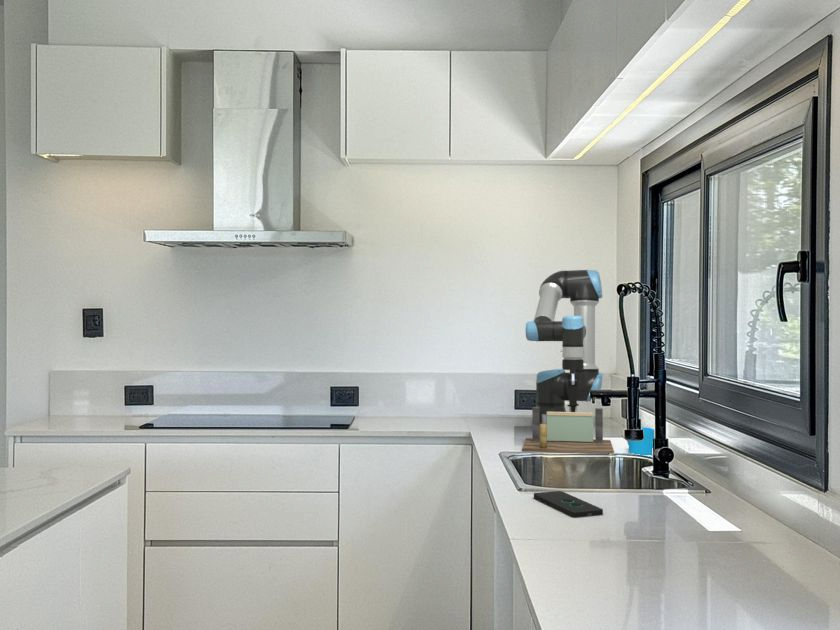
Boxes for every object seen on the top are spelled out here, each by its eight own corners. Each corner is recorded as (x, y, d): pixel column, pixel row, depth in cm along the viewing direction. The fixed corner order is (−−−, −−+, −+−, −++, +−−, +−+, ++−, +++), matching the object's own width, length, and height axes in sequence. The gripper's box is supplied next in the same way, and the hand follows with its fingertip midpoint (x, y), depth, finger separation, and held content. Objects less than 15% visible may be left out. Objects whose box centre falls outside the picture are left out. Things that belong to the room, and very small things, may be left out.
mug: (659, 455, 245) (659, 430, 245) (638, 456, 242) (638, 431, 242) (637, 449, 256) (637, 425, 256) (617, 450, 254) (617, 426, 254)
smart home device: (572, 512, 169) (531, 492, 188) (572, 519, 169) (531, 499, 188) (604, 509, 171) (561, 490, 190) (604, 516, 171) (561, 497, 190)
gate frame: (525, 440, 275) (525, 404, 275) (610, 442, 269) (610, 406, 269) (522, 451, 252) (521, 412, 252) (614, 454, 246) (613, 414, 247)
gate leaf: (541, 439, 267) (541, 411, 267) (593, 440, 264) (592, 412, 264) (541, 440, 265) (541, 412, 265) (593, 441, 262) (593, 413, 262)
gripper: (562, 357, 276) (562, 421, 276) (562, 359, 264) (562, 426, 263) (583, 357, 275) (583, 422, 275) (583, 359, 262) (584, 427, 262)
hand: (573, 424), depth 269 cm, fingers closed
